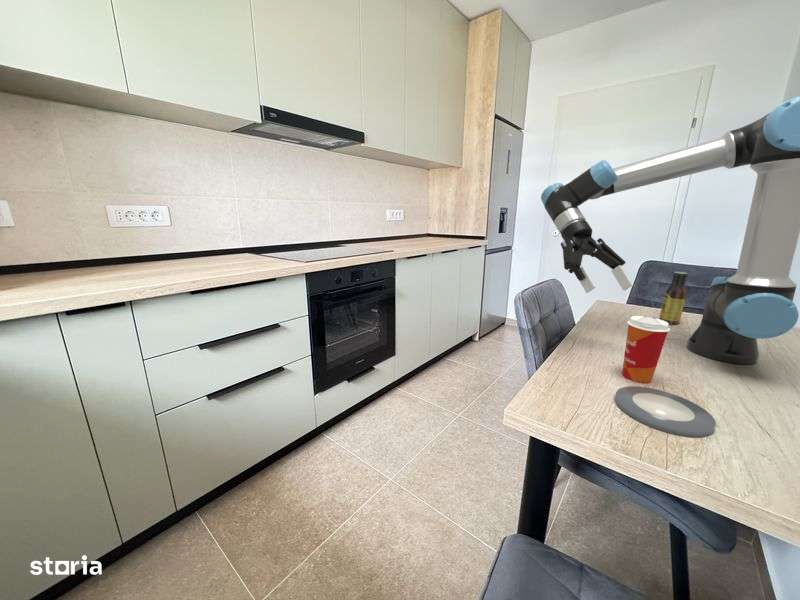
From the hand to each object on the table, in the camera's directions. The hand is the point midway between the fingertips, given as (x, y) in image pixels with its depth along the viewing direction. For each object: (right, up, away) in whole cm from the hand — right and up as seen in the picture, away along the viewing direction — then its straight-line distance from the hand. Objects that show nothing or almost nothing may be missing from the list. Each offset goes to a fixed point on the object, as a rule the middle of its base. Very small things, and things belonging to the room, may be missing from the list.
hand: (610, 288), depth 85 cm
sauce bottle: (+49, -12, +40) cm, 64 cm away
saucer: (-2, -26, -19) cm, 32 cm away
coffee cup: (+3, -23, -5) cm, 23 cm away
